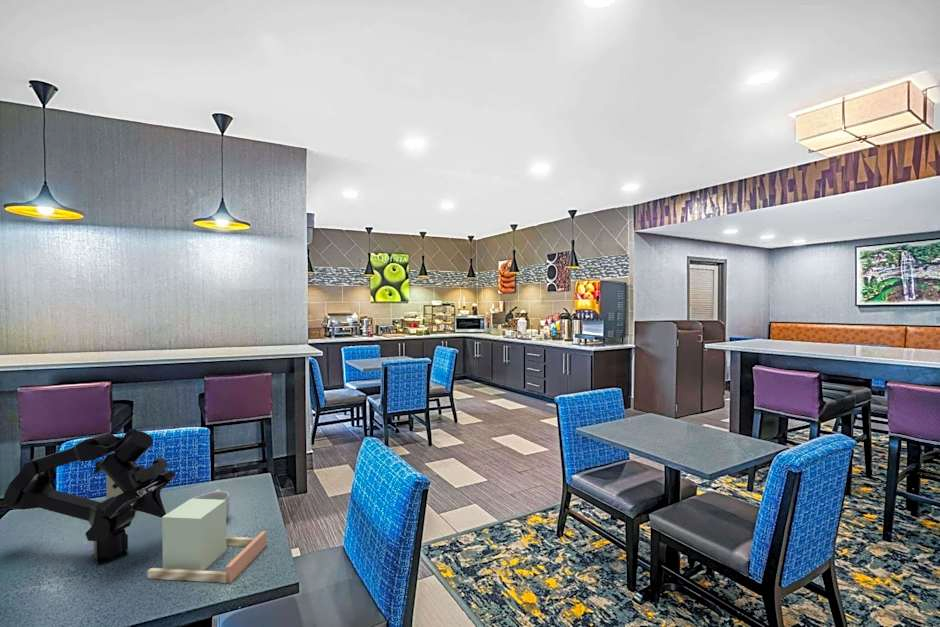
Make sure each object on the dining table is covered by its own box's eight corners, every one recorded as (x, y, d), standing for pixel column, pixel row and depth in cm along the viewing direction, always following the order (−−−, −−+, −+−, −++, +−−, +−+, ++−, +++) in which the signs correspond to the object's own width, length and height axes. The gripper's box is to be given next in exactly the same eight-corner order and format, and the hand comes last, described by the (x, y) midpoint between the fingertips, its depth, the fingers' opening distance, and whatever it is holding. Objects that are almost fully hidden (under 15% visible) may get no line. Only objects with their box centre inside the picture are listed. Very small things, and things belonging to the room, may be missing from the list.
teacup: (217, 532, 138) (217, 505, 138) (181, 531, 138) (180, 504, 138) (241, 510, 152) (241, 486, 152) (208, 510, 152) (208, 486, 152)
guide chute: (147, 578, 115) (147, 562, 115) (194, 542, 132) (193, 528, 132) (230, 582, 113) (230, 566, 113) (266, 545, 131) (266, 531, 131)
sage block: (162, 571, 118) (162, 517, 118) (191, 548, 129) (191, 498, 129) (200, 573, 117) (200, 518, 117) (226, 550, 128) (226, 499, 128)
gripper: (115, 464, 114) (158, 511, 114) (169, 441, 133) (206, 481, 132) (85, 495, 115) (127, 541, 114) (143, 467, 133) (180, 507, 133)
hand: (163, 515), depth 123 cm, fingers closed
